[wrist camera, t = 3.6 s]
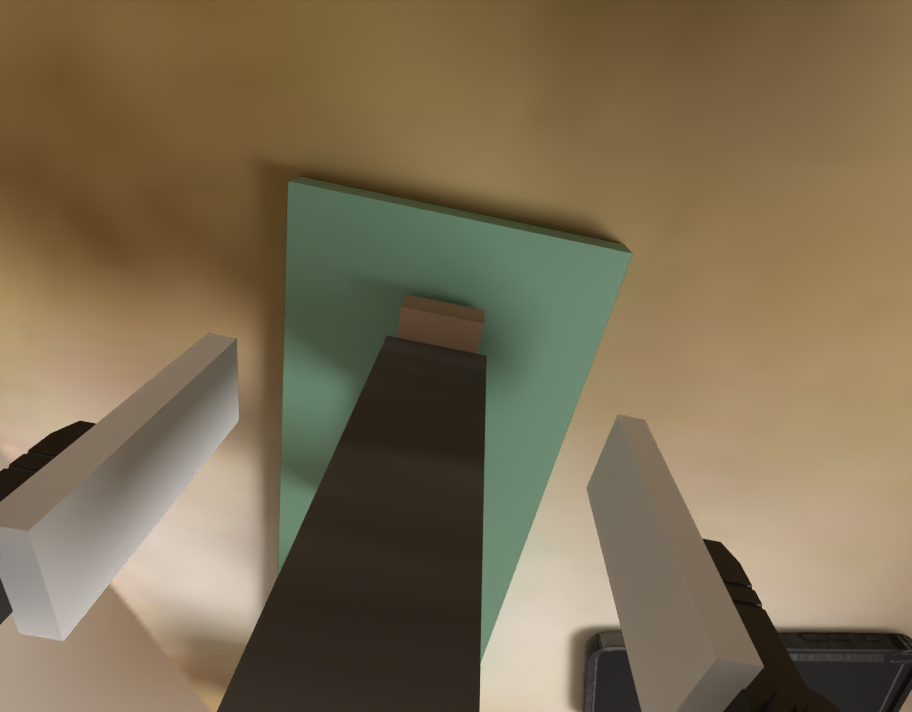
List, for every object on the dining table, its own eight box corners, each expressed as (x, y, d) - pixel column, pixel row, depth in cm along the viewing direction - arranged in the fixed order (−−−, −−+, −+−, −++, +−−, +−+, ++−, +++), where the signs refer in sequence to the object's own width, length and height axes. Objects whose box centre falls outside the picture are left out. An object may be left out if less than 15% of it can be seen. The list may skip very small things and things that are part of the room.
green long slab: (300, 176, 15) (190, 219, 9) (624, 244, 15) (697, 323, 10) (280, 714, 29) (233, 851, 24) (444, 743, 29) (434, 885, 24)
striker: (364, 285, 15) (110, 650, 5) (526, 318, 15) (593, 737, 5) (340, 507, 19) (180, 934, 9) (465, 531, 19) (438, 976, 9)
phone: (880, 742, 25) (584, 734, 26) (865, 717, 26) (580, 711, 27) (936, 648, 21) (589, 646, 23) (916, 624, 22) (584, 623, 24)
